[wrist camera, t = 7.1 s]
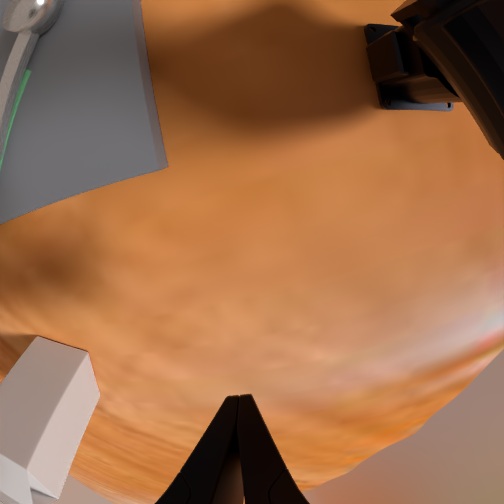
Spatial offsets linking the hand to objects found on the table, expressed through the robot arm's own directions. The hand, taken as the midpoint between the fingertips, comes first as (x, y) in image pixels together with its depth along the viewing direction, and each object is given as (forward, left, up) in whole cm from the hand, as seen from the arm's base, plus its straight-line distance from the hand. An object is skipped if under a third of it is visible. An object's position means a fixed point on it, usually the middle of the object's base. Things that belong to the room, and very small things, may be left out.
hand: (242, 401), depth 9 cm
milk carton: (+22, +10, -13) cm, 28 cm away
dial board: (+14, -18, -13) cm, 26 cm away
